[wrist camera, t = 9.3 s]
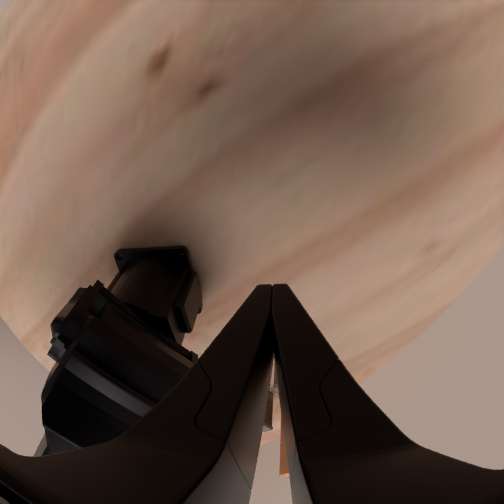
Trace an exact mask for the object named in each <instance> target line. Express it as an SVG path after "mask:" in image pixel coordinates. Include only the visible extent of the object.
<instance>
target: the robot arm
mask: <svg viewBox="0 0 504 504" xmlns="http://www.w3.org/2000/svg"><path fill="white" fill-rule="evenodd" d="M179 252H183V253H184V255H182V254H180V253H179ZM119 255H120V256H121V257H120V256H119ZM114 258H115V261H116V264H117V266H118V269H119V272H118V274H117V275H116V277H115V278H114V279H113V281H112V282H111V284H110V285H109V287H108V288H107V289H106V288H105V287H104V286H103V285H104V284H102V283H101V282H100V281H99V280H97V281H96V283H95V284H94V285H93V287H92V286H91V285H89V287H88V288H81V287H80V288H79V289H78V290H77V291H76V293H75V294H74V295H73V297H72V298H71V299H70V301H69V302H68V303H67V304H66V306H65V307H64V308H63V309H62V310H61V311H60V312H59V314H58V315H57V316H56V317H55V318H54V320H53V321H52V323H51V331H52V336H53V338H52V340H51V342H50V343H51V344H52V347H51V349H50V350H49V352H48V354H47V355H48V356H50V357H51V358H52V359H53V360H55V361H56V363H55V365H54V366H53V368H52V370H51V371H50V373H49V375H48V378H47V380H46V383H45V386H44V388H43V391H42V395H41V400H42V423H43V426H44V428H45V435H44V437H43V438H42V440H41V442H40V444H39V446H38V448H37V450H36V452H35V454H34V456H33V457H30V456H29V457H28V456H22V455H18V454H16V453H14V452H12V451H11V450H9V449H8V448H6V447H5V446H3V445H1V444H0V504H249V499H250V494H251V489H252V484H253V479H254V474H255V469H256V463H257V457H258V452H259V447H260V441H261V435H262V429H263V424H264V418H265V412H266V406H267V399H268V393H269V387H270V380H271V374H272V367H273V359H275V368H276V376H277V383H278V391H279V398H280V406H281V414H282V421H283V429H284V437H285V445H286V453H287V461H288V469H289V477H290V484H291V490H292V491H291V492H292V500H293V504H504V469H503V470H492V469H487V468H482V467H479V466H476V465H473V464H469V463H466V462H463V461H460V460H457V459H454V458H451V457H449V456H446V455H443V454H440V453H438V452H435V451H432V450H430V449H427V448H424V447H422V446H420V445H418V444H417V443H415V442H413V441H412V440H410V439H409V438H408V437H407V436H406V435H404V433H403V432H401V431H400V429H399V428H398V427H397V426H396V425H395V424H394V423H393V422H392V421H391V420H390V419H389V418H388V417H387V416H386V415H385V413H384V412H382V410H381V409H380V408H379V407H378V406H377V405H376V404H375V403H374V402H373V401H372V399H371V398H370V397H369V396H368V395H367V394H366V393H365V392H364V390H363V389H362V388H361V387H360V386H359V385H358V383H357V382H356V381H355V379H354V378H353V377H352V375H351V374H350V373H349V371H348V370H347V369H346V367H345V366H344V364H343V363H342V361H341V360H340V359H339V357H338V356H337V354H336V353H335V352H334V350H333V349H332V347H331V346H330V344H329V343H328V342H327V340H326V339H325V337H324V336H323V334H322V333H321V331H320V330H319V329H318V327H317V326H316V324H315V323H314V321H313V320H312V319H311V317H310V316H309V314H308V313H307V311H306V310H305V309H304V307H303V306H302V304H301V303H300V301H299V300H298V299H297V297H296V296H295V294H294V293H293V291H292V290H291V289H290V287H289V286H288V285H287V284H274V285H273V286H272V285H271V284H260V285H257V286H256V288H255V289H254V290H253V291H252V293H251V294H250V295H249V296H248V298H247V299H246V300H245V302H244V303H243V304H242V305H241V307H240V308H239V309H238V310H237V312H236V313H235V314H234V316H233V317H232V318H231V319H230V321H229V322H228V323H227V324H226V326H225V327H224V328H223V329H222V331H221V332H220V333H219V334H218V336H217V337H216V338H215V339H214V341H213V342H212V343H211V344H210V346H209V347H208V348H207V349H206V350H205V352H204V353H203V354H202V355H201V357H200V358H199V359H198V355H197V354H196V353H194V352H193V351H189V350H187V349H186V348H184V347H183V346H181V345H182V342H183V338H184V335H185V333H190V332H191V331H192V330H193V326H194V323H195V320H196V317H197V314H199V313H201V311H202V304H201V300H202V293H201V289H200V285H199V281H198V277H197V273H196V272H195V271H193V268H192V264H191V260H190V256H189V252H188V249H187V248H186V247H184V246H173V247H155V248H138V249H121V250H117V251H116V253H115V254H114Z"/></svg>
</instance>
